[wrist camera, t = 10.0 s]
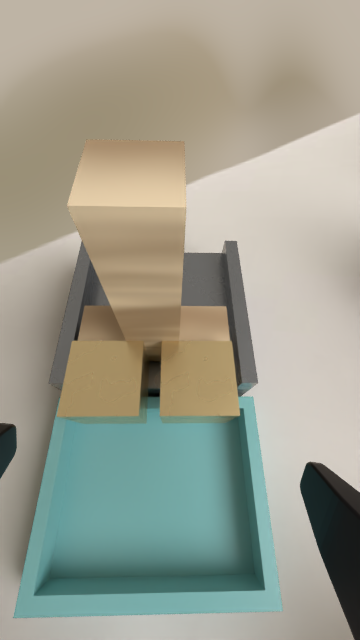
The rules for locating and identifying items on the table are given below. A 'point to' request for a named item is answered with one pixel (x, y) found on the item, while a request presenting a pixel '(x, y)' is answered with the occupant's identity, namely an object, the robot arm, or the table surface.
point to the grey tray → (197, 290)
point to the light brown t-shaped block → (138, 244)
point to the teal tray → (151, 521)
